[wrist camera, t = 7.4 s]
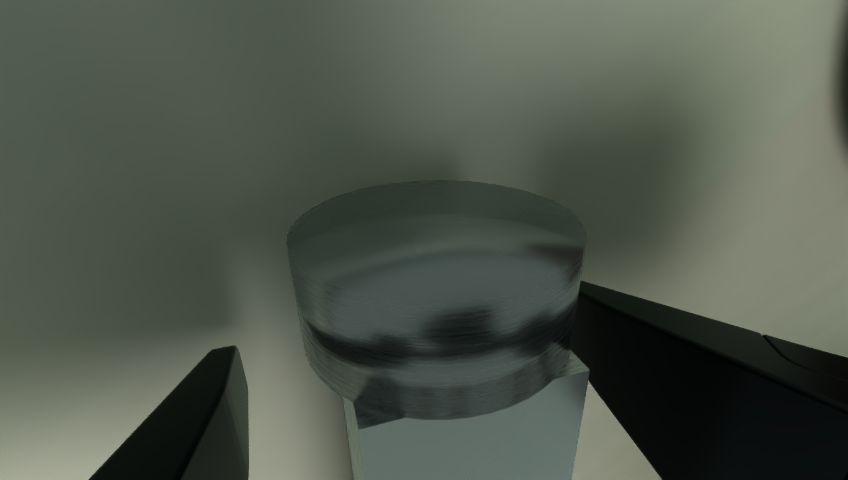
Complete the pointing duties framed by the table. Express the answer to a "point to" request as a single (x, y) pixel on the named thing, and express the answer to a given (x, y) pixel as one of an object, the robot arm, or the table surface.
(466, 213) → the shaft
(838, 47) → the table surface
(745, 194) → the table surface
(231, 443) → the robot arm
